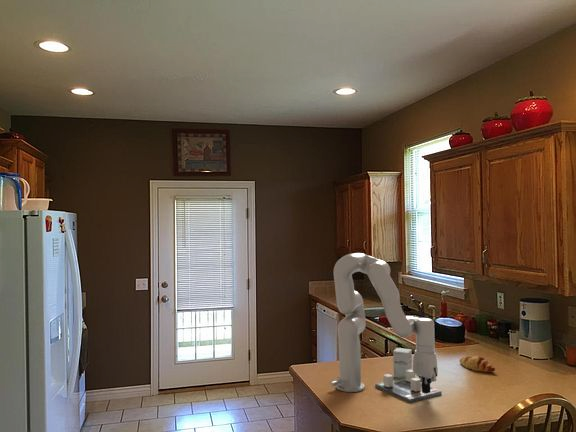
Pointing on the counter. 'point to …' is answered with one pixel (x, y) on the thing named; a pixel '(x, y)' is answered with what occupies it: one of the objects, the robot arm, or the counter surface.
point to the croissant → (476, 364)
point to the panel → (407, 390)
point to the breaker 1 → (388, 380)
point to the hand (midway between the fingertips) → (426, 392)
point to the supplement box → (402, 361)
